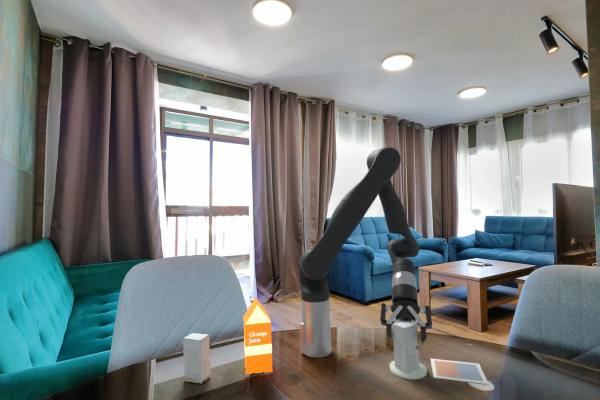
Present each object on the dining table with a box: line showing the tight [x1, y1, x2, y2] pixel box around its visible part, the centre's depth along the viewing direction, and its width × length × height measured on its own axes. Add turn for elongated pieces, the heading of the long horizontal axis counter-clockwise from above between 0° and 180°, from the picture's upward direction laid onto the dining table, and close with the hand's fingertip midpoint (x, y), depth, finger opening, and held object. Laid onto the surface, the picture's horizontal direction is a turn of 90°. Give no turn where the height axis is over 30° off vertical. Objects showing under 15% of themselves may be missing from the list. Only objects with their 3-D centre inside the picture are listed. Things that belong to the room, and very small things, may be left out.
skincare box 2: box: [392, 320, 420, 373], centre depth 88 cm, size 6×4×12 cm
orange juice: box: [243, 297, 273, 375], centre depth 92 cm, size 8×9×20 cm
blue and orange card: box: [430, 358, 489, 386], centre depth 86 cm, size 13×11×1 cm
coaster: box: [389, 360, 428, 381], centre depth 88 cm, size 10×10×1 cm
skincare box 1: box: [182, 332, 211, 381], centre depth 87 cm, size 6×4×12 cm
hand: (406, 340), depth 87 cm, fingers open, 8 cm apart
